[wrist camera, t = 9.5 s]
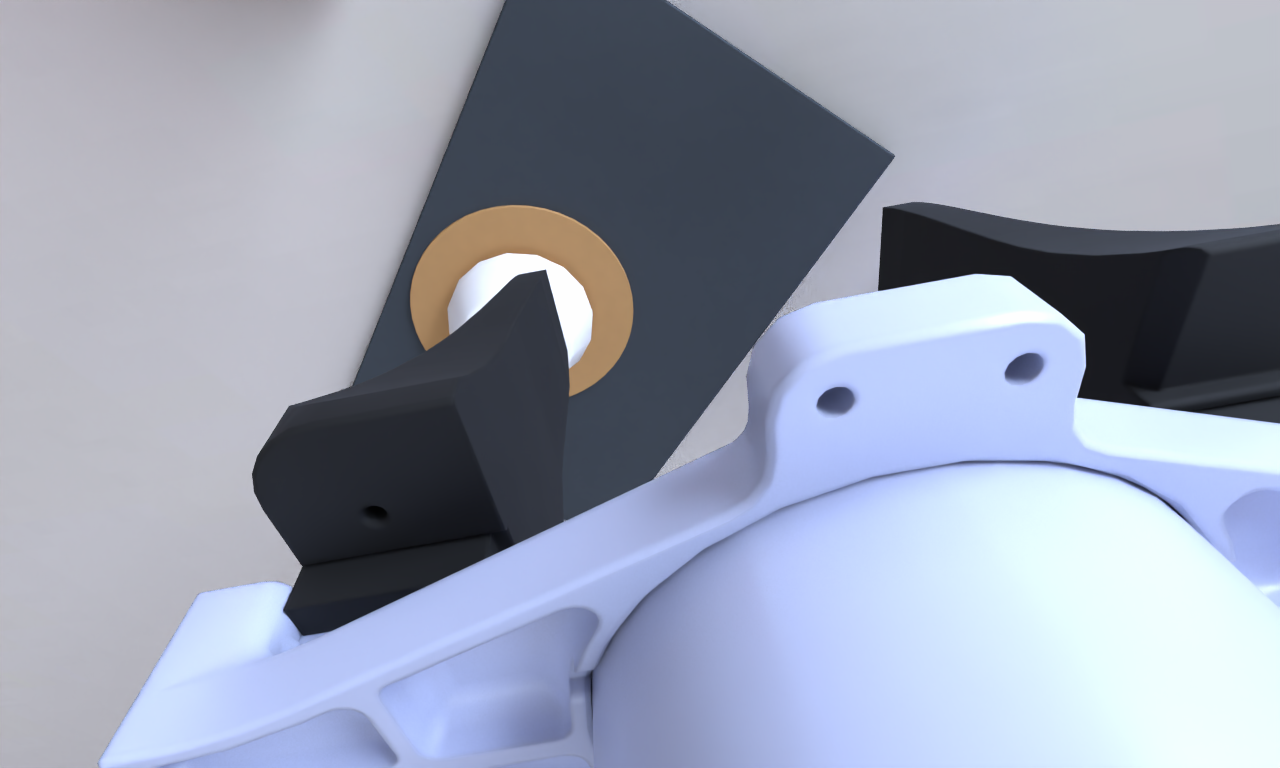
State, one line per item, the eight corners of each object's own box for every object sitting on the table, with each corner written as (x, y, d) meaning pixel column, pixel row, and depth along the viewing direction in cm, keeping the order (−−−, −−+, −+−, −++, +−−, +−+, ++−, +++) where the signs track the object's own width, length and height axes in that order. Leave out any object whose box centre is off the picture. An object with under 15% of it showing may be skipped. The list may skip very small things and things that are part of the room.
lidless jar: (614, 285, 23) (481, 224, 21) (619, 325, 20) (469, 259, 19) (557, 389, 25) (433, 342, 24) (555, 436, 23) (416, 387, 21)
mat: (889, 151, 22) (898, 158, 21) (610, 526, 31) (611, 539, 30) (540, -85, 17) (539, -87, 17) (334, 432, 26) (328, 445, 26)
